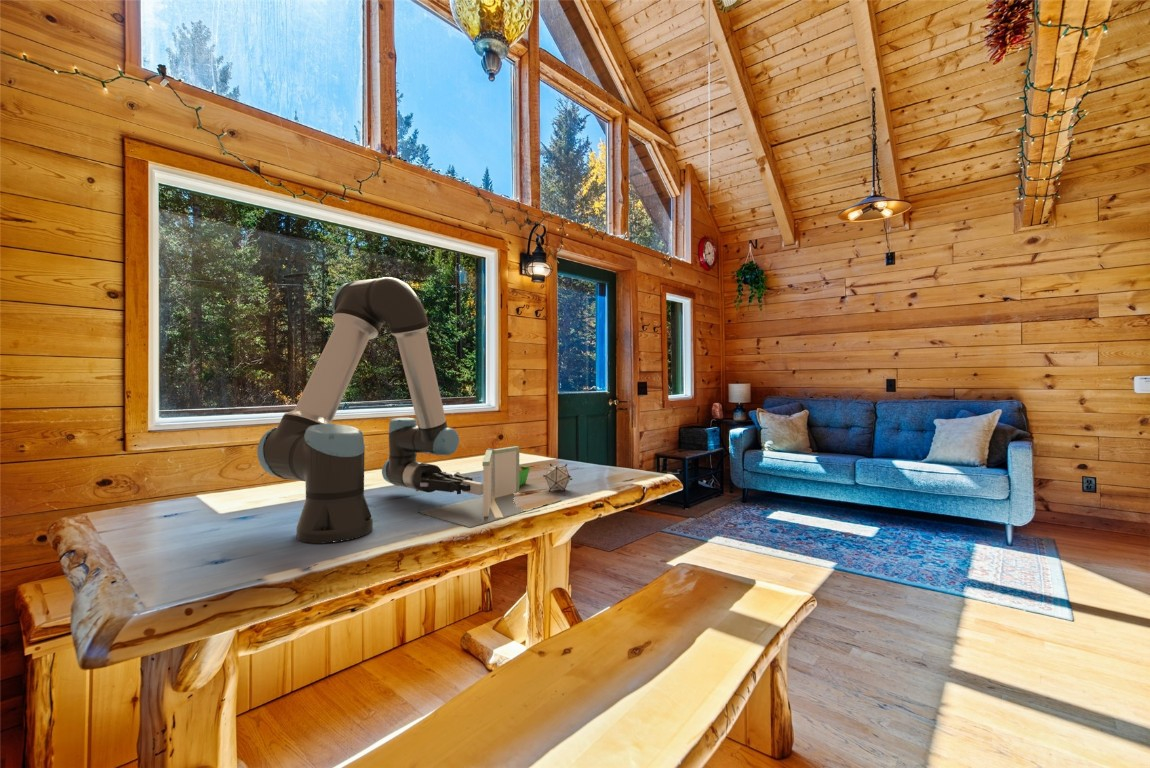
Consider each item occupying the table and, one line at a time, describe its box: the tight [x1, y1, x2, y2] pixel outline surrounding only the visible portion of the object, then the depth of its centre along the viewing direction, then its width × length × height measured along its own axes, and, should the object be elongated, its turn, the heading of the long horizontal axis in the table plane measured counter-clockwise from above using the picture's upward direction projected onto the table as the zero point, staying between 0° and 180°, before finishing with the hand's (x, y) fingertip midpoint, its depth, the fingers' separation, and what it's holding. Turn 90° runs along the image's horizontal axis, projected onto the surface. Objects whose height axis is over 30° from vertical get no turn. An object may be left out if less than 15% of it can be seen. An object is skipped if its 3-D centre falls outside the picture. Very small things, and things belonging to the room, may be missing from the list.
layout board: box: [419, 492, 562, 529], centre depth 135 cm, size 32×20×1 cm, turn 141°
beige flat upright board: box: [482, 447, 493, 517], centre depth 133 cm, size 21×2×14 cm, turn 7°
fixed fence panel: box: [492, 445, 520, 497], centre depth 148 cm, size 9×2×14 cm, turn 141°
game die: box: [542, 463, 573, 492], centre depth 154 cm, size 9×8×10 cm
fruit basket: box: [519, 465, 531, 487], centre depth 161 cm, size 11×9×11 cm
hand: (481, 489), depth 127 cm, fingers closed
